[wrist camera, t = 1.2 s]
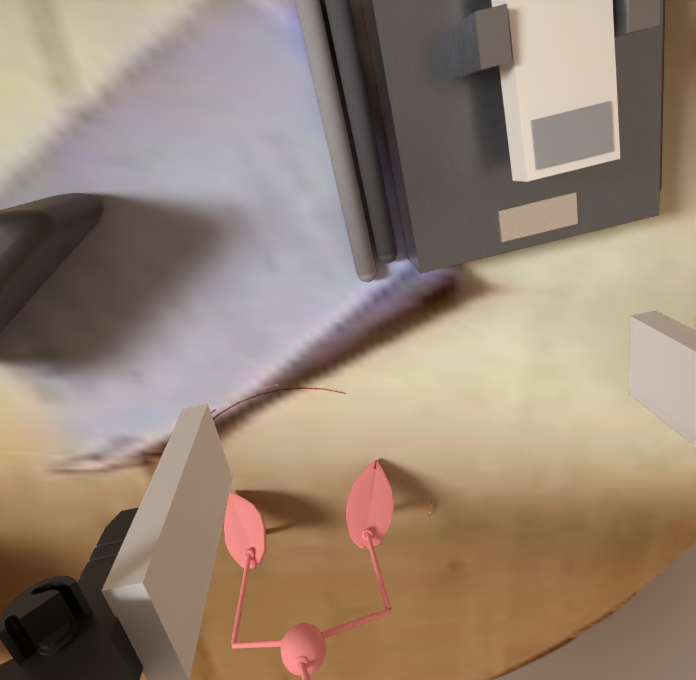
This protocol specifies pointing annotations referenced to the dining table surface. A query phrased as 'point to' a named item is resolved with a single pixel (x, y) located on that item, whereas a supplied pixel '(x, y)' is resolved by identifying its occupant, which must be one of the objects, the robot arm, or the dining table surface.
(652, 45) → the lever switch plate
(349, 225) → the rods
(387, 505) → the figurine
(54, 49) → the dining table surface
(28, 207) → the black rounded flat block
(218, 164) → the dining table surface
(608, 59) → the rocker
